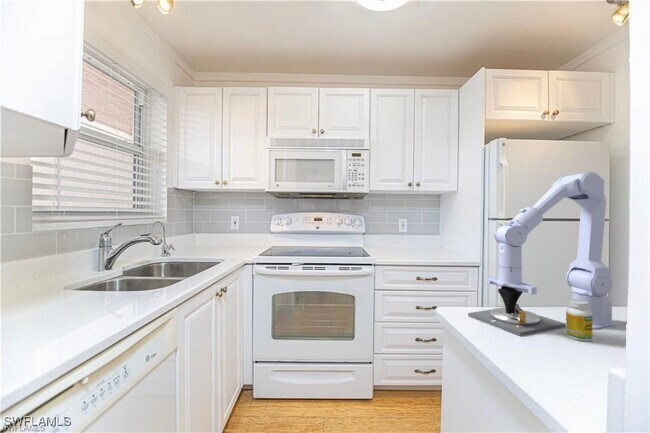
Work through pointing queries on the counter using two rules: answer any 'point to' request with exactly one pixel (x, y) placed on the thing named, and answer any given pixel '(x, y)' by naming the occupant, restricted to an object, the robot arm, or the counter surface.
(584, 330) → the supplement bottle
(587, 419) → the counter surface
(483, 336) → the counter surface
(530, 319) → the dial
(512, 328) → the dial plate
